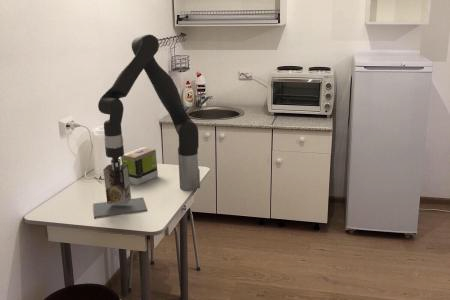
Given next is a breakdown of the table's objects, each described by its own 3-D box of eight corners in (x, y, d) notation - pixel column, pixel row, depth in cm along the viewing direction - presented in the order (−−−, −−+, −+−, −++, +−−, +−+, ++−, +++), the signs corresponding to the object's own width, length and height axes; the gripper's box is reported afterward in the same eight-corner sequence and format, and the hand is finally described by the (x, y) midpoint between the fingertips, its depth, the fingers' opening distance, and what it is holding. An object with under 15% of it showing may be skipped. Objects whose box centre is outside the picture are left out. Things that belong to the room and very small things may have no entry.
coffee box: (131, 199, 213) (128, 164, 208) (126, 205, 207) (123, 169, 202) (111, 198, 215) (108, 163, 210) (106, 204, 209) (102, 168, 204)
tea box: (144, 173, 254) (142, 146, 250) (158, 176, 248) (156, 149, 244) (122, 181, 242) (120, 153, 238) (137, 185, 237) (134, 157, 232)
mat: (143, 198, 221) (143, 197, 221) (147, 211, 208) (147, 209, 208) (93, 205, 215) (93, 203, 215) (94, 218, 202) (94, 216, 202)
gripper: (104, 141, 209) (107, 176, 214) (105, 150, 196) (109, 187, 200) (121, 139, 211) (124, 174, 216) (124, 148, 198) (127, 185, 202)
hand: (117, 180), depth 208 cm, fingers closed on coffee box, 8 cm apart
